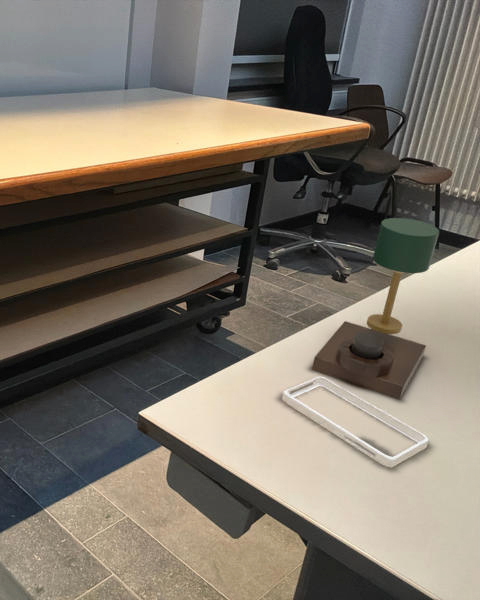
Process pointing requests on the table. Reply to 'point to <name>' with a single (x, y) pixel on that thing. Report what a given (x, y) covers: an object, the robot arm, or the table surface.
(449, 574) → the table surface
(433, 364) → the table surface
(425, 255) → the lamp
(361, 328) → the lamp base
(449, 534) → the table surface
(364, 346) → the lamp switch
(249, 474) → the table surface
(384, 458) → the phone case
